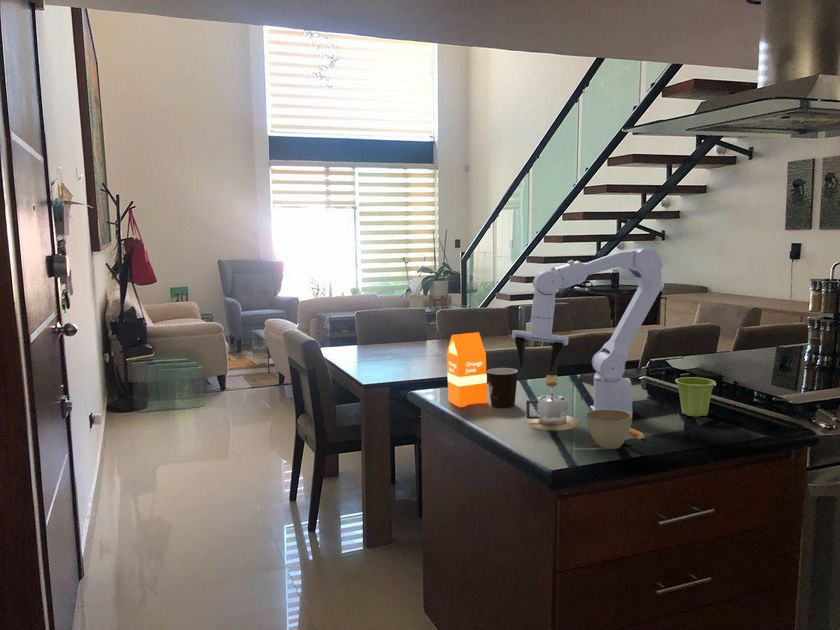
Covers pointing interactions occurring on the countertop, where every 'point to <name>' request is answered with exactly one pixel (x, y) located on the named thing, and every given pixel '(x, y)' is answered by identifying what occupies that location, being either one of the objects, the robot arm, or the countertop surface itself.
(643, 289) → the robot arm
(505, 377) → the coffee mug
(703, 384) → the plant pot
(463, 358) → the orange juice
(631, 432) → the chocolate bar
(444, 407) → the countertop surface
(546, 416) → the press carafe
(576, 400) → the countertop surface
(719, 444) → the countertop surface
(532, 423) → the cork mat
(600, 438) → the beige bowl
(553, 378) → the plunger
